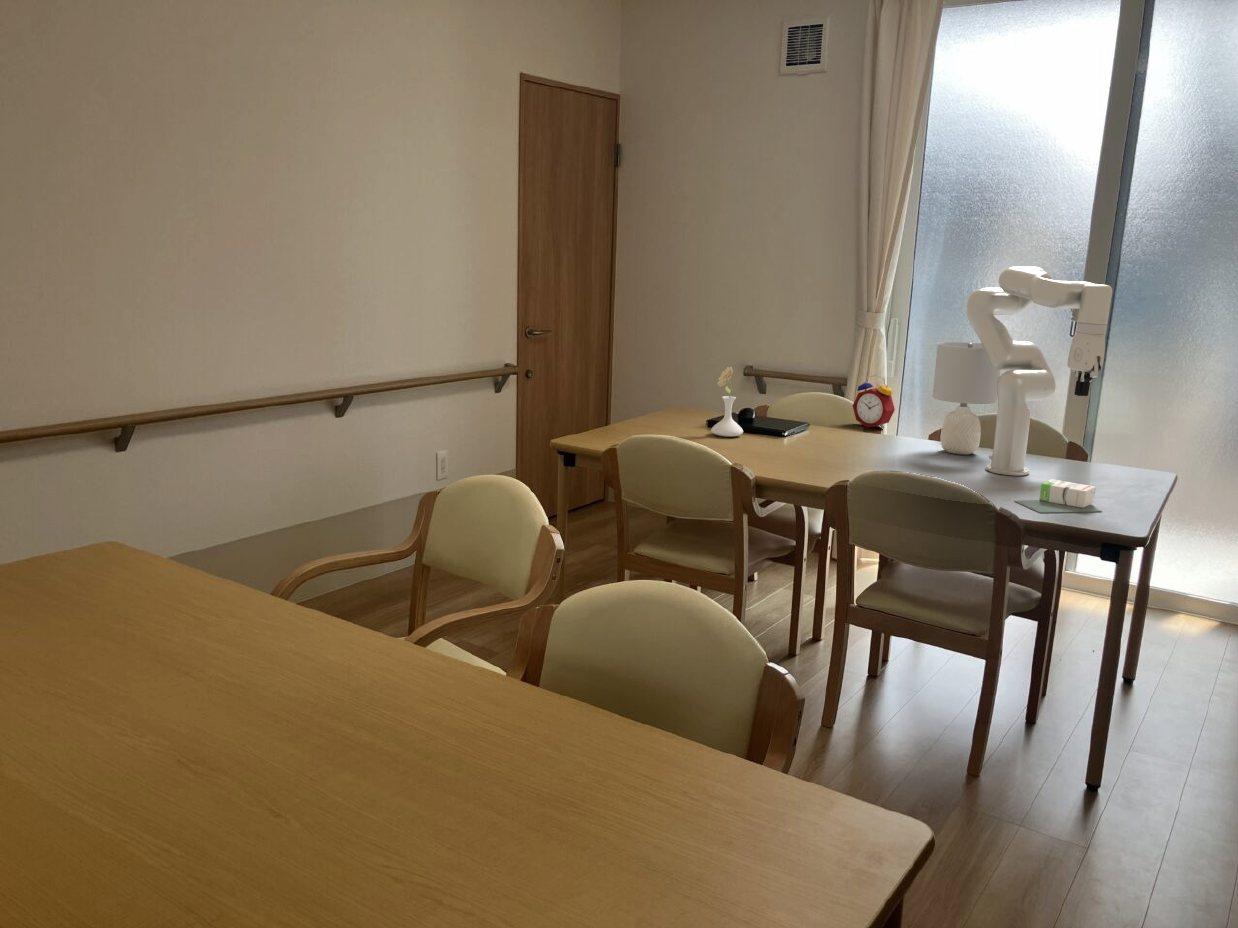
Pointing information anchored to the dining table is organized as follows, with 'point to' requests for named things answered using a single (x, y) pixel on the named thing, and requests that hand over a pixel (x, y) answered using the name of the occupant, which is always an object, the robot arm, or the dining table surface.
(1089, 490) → the ink box
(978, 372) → the lamp
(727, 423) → the flower in vase
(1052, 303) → the robot arm
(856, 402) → the alarm clock
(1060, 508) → the felt mat
